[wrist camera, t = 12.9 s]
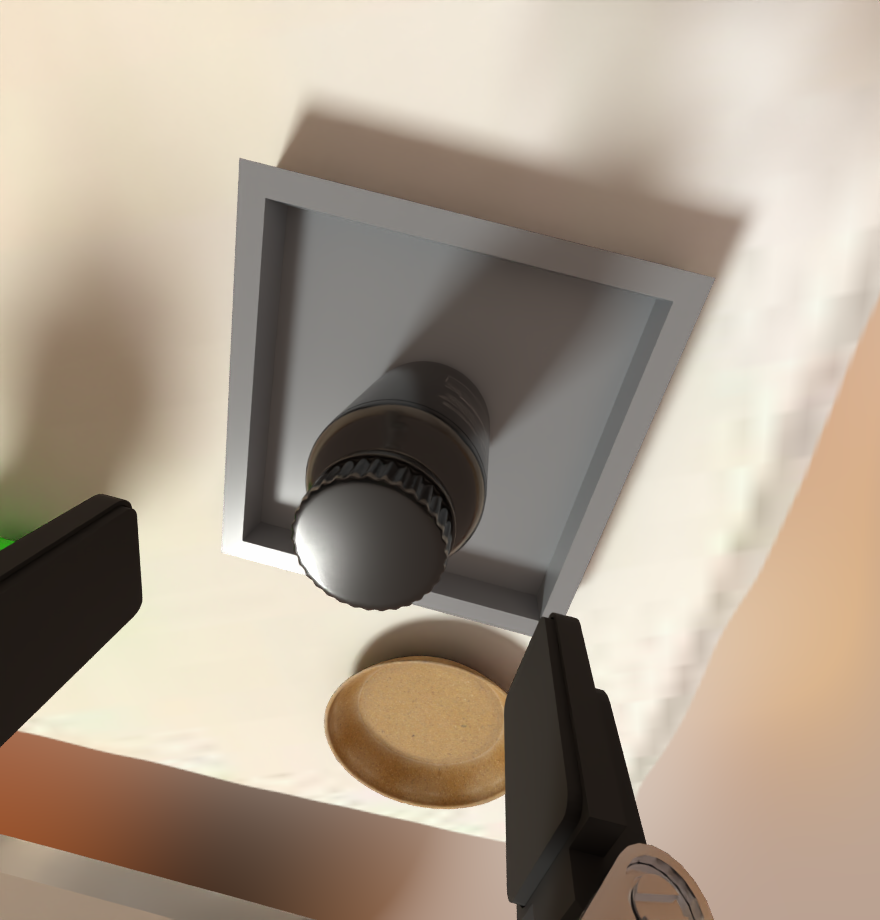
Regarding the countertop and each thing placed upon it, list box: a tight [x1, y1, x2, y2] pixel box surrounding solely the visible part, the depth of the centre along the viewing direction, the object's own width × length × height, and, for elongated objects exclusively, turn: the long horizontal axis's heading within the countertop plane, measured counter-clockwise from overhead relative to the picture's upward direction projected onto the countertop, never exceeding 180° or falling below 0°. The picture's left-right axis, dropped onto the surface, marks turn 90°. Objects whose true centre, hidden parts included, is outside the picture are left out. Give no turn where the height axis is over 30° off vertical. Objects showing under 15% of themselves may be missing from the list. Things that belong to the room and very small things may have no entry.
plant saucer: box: [324, 656, 507, 809], centre depth 33 cm, size 15×15×3 cm
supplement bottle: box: [291, 361, 490, 611], centre depth 19 cm, size 7×7×12 cm
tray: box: [221, 158, 715, 636], centre depth 24 cm, size 20×20×3 cm
